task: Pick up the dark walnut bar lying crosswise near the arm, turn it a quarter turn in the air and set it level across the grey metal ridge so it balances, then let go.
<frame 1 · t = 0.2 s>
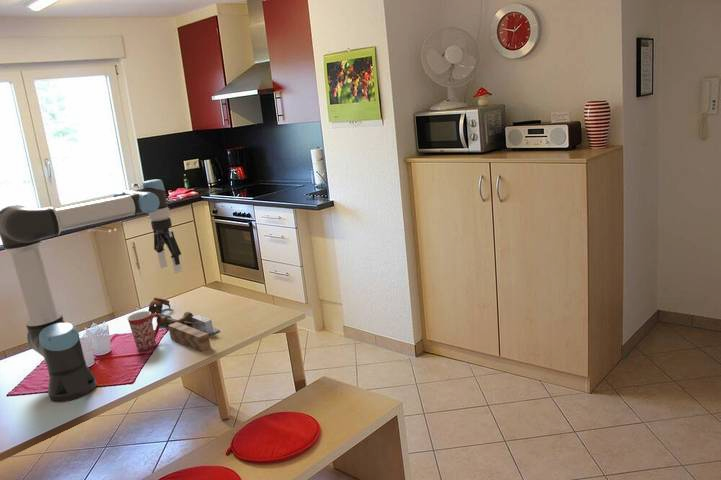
hand: (171, 269, 240), 27 cm above the table, fingers open, 13 cm apart
walnut bar: (190, 343, 235), on the table
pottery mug: (160, 313, 274), on the table
fulcrum: (203, 331, 244), on the table
mug: (150, 345, 237), on the table
kendama: (177, 328, 253), on the table
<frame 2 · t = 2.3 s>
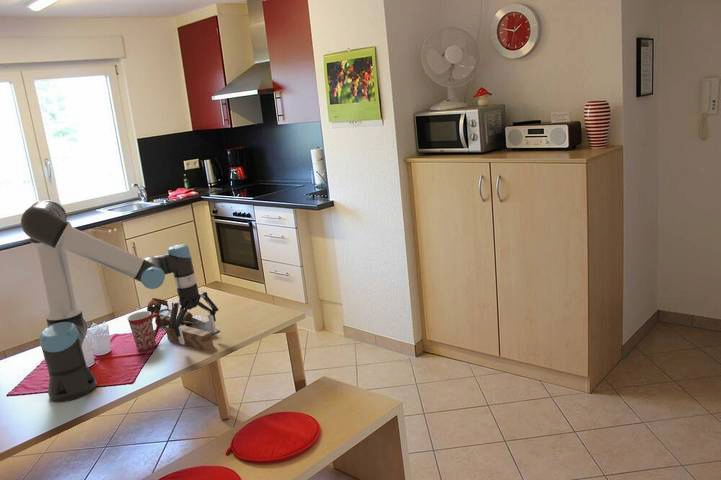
hand: (198, 336, 229), 4 cm above the table, fingers open, 13 cm apart
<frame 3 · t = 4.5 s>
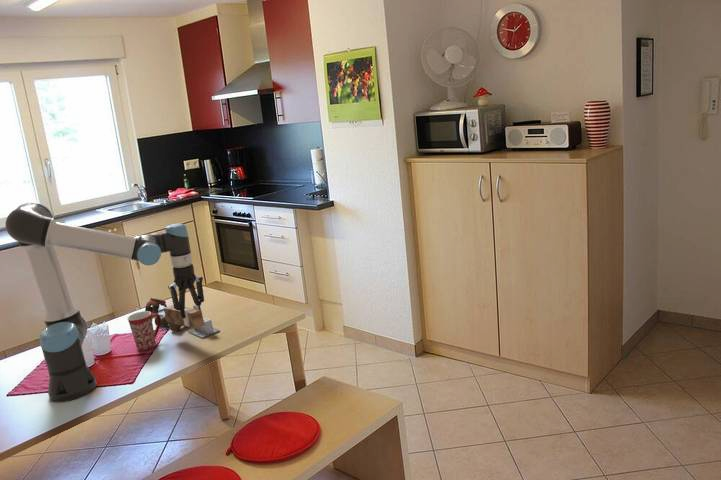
hand: (192, 323, 227), 10 cm above the table, fingers closed on walnut bar, 4 cm apart
walnut bar: (185, 323, 232), point 8 cm above the table, tilted 6°, touching gripper
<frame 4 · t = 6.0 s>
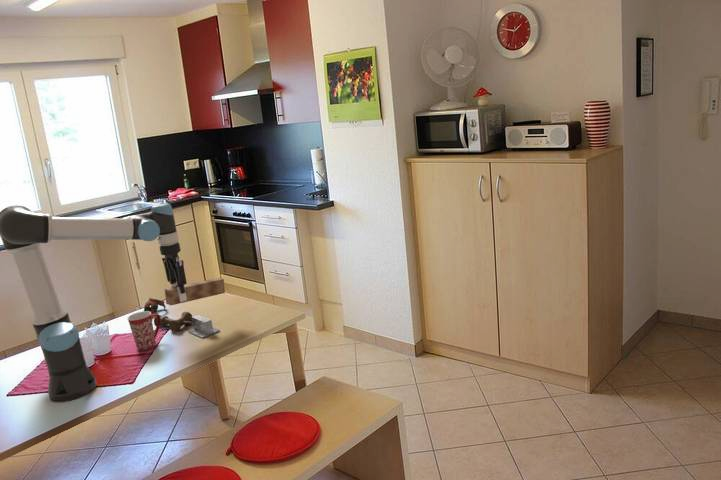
hand: (180, 299, 235), 17 cm above the table, fingers closed on walnut bar, 4 cm apart
walnut bar: (196, 298, 240), point 15 cm above the table, tilted 7°, touching gripper
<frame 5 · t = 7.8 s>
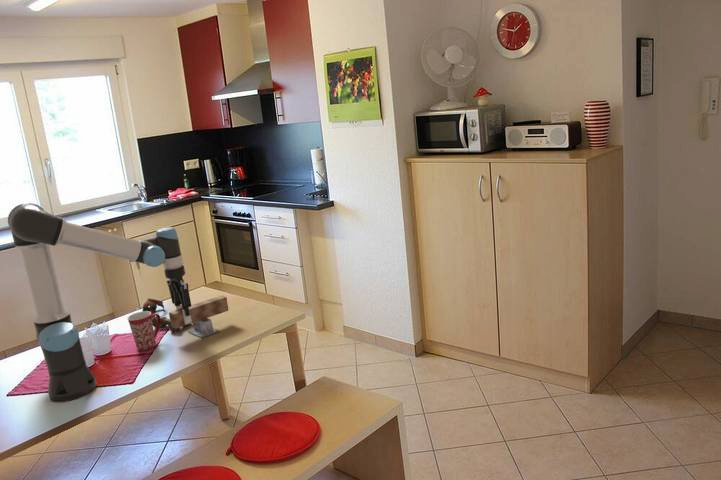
hand: (185, 321, 238), 7 cm above the table, fingers closed on walnut bar, 4 cm apart
walnut bar: (200, 318, 242), point 6 cm above the table, touching fulcrum, gripper
when the fingers open (6 cm above the table, at t = 8.7 s): walnut bar stays where it is, resting on fulcrum.
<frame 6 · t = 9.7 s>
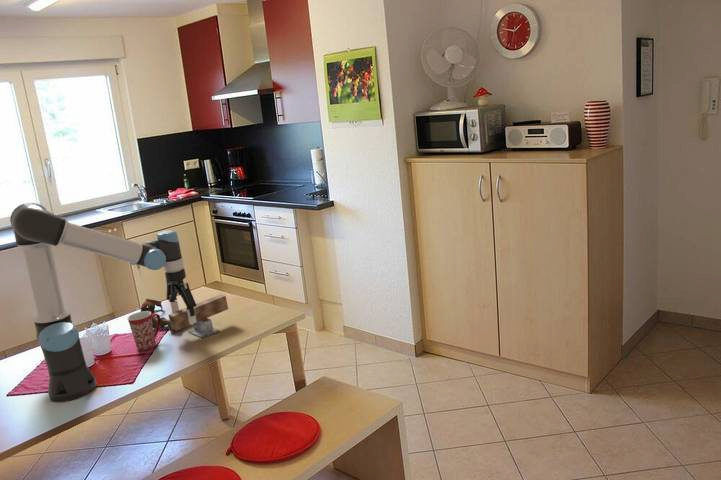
hand: (184, 319, 238), 8 cm above the table, fingers open, 13 cm apart
walnut bar: (200, 318, 242), point 6 cm above the table, touching fulcrum
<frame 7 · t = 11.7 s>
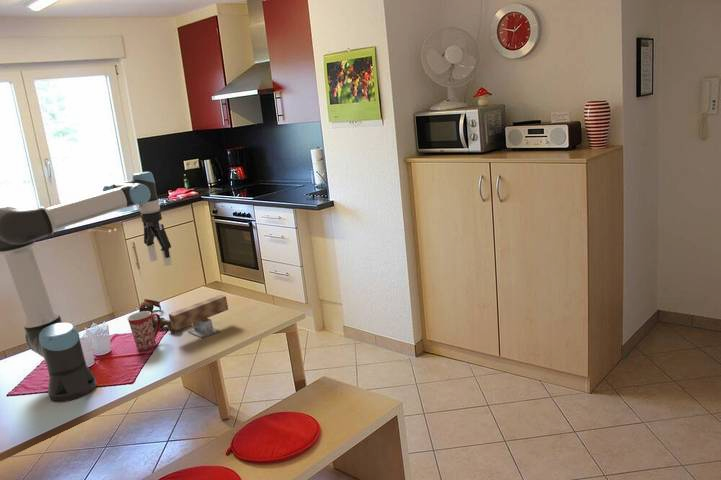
hand: (161, 263, 238), 31 cm above the table, fingers open, 13 cm apart
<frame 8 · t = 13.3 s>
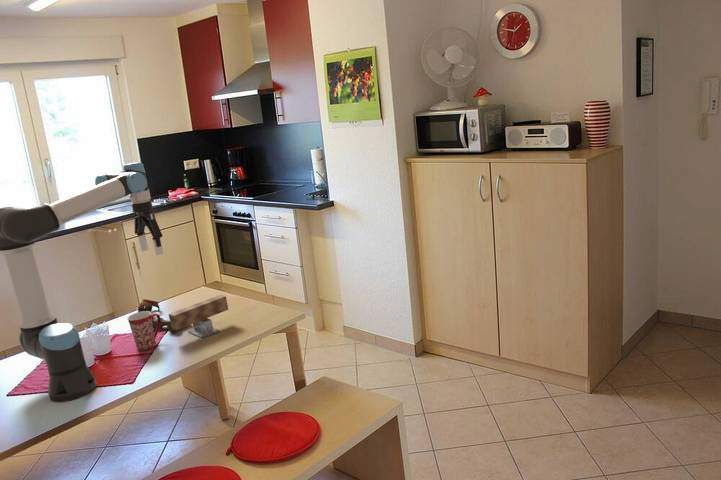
hand: (152, 252, 241), 35 cm above the table, fingers open, 13 cm apart
at the end: walnut bar 0.2 cm off-centre on the fulcrum, point 6.0 cm above the fulcrum's base; walnut bar tilted 0°; walnut bar touching fulcrum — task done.
